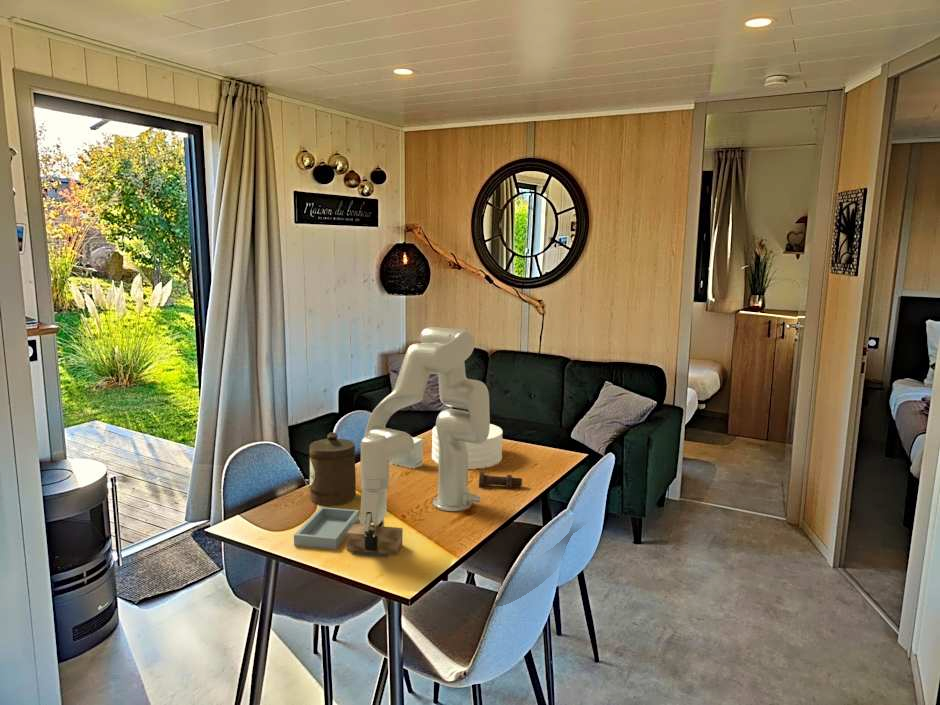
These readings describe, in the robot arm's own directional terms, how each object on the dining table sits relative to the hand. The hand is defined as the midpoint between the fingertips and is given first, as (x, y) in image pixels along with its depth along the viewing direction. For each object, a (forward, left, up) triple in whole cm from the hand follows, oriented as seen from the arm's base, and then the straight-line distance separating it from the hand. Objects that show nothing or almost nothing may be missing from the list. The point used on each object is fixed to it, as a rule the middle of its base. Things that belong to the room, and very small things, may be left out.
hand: (374, 543), depth 179 cm
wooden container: (+25, -35, -2) cm, 43 cm away
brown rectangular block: (0, 0, -1) cm, 1 cm away
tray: (+16, -7, -2) cm, 18 cm away
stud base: (0, 0, -2) cm, 2 cm away
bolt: (-29, -56, -3) cm, 63 cm away
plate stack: (-12, -86, -3) cm, 87 cm away
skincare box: (+9, -72, -2) cm, 73 cm away
